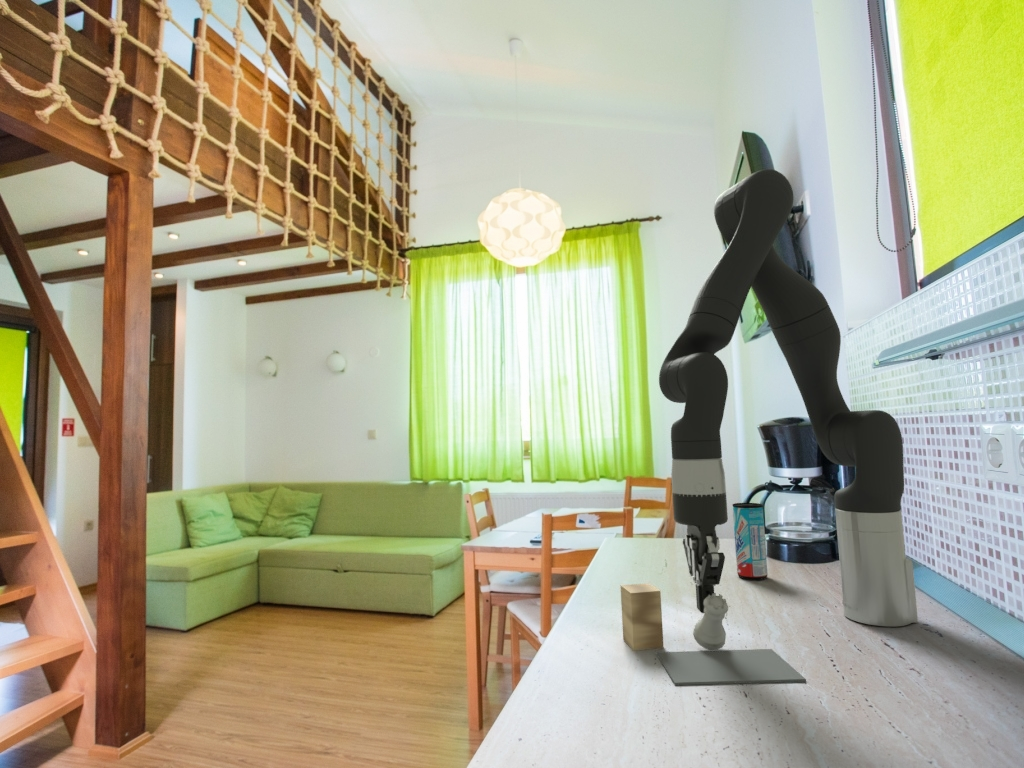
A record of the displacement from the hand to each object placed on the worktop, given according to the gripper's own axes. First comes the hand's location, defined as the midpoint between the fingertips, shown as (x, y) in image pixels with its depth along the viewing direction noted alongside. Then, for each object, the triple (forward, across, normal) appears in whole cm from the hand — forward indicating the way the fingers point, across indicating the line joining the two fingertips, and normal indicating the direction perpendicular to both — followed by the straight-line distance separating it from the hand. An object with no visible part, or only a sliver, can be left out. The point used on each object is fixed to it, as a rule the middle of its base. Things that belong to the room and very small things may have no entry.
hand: (706, 611), depth 84 cm
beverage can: (+5, +39, -21) cm, 44 cm away
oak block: (+5, +2, +9) cm, 10 cm away
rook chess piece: (+4, 0, 0) cm, 4 cm away
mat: (+5, -7, 0) cm, 9 cm away
